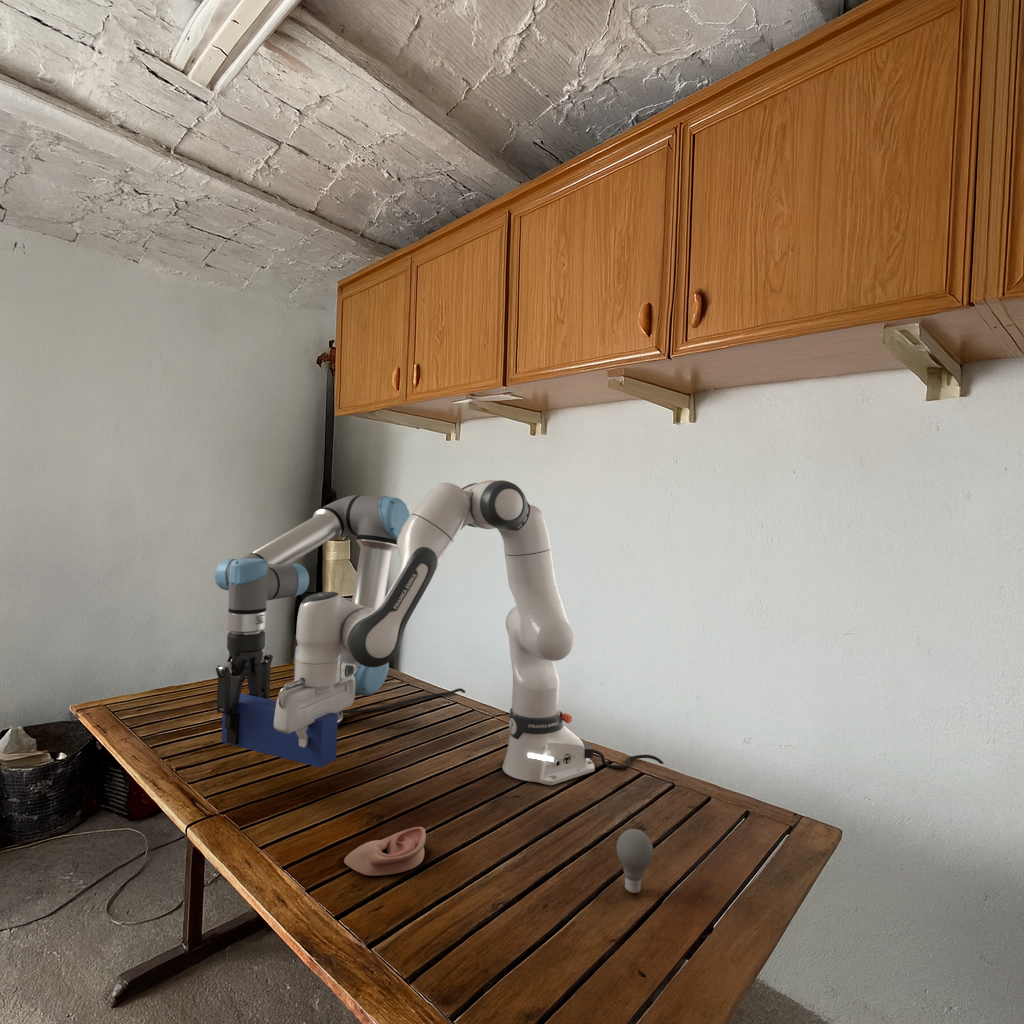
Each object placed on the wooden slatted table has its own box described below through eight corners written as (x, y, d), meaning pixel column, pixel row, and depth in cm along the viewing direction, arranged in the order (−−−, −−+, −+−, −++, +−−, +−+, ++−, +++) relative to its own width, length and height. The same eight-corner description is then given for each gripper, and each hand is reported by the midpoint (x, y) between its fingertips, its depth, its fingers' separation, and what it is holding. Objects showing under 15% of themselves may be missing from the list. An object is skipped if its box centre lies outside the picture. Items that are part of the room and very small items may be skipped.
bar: (221, 742, 135) (222, 698, 135) (239, 735, 140) (240, 693, 140) (320, 767, 125) (322, 720, 125) (336, 759, 129) (337, 713, 129)
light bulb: (610, 879, 108) (613, 822, 108) (644, 879, 109) (647, 822, 109) (619, 902, 102) (622, 840, 102) (655, 901, 103) (658, 840, 103)
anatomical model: (336, 847, 108) (365, 815, 119) (335, 870, 108) (364, 836, 119) (410, 859, 105) (432, 825, 116) (409, 883, 105) (431, 846, 116)
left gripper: (225, 641, 126) (221, 757, 127) (290, 626, 142) (286, 729, 143) (198, 636, 129) (194, 749, 130) (264, 622, 145) (261, 723, 146)
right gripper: (292, 688, 117) (290, 762, 118) (361, 664, 136) (358, 727, 136) (267, 683, 120) (264, 755, 120) (337, 659, 139) (335, 722, 139)
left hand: (242, 738), depth 136 cm, fingers closed on bar, 5 cm apart
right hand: (315, 740), depth 128 cm, fingers closed on bar, 5 cm apart
